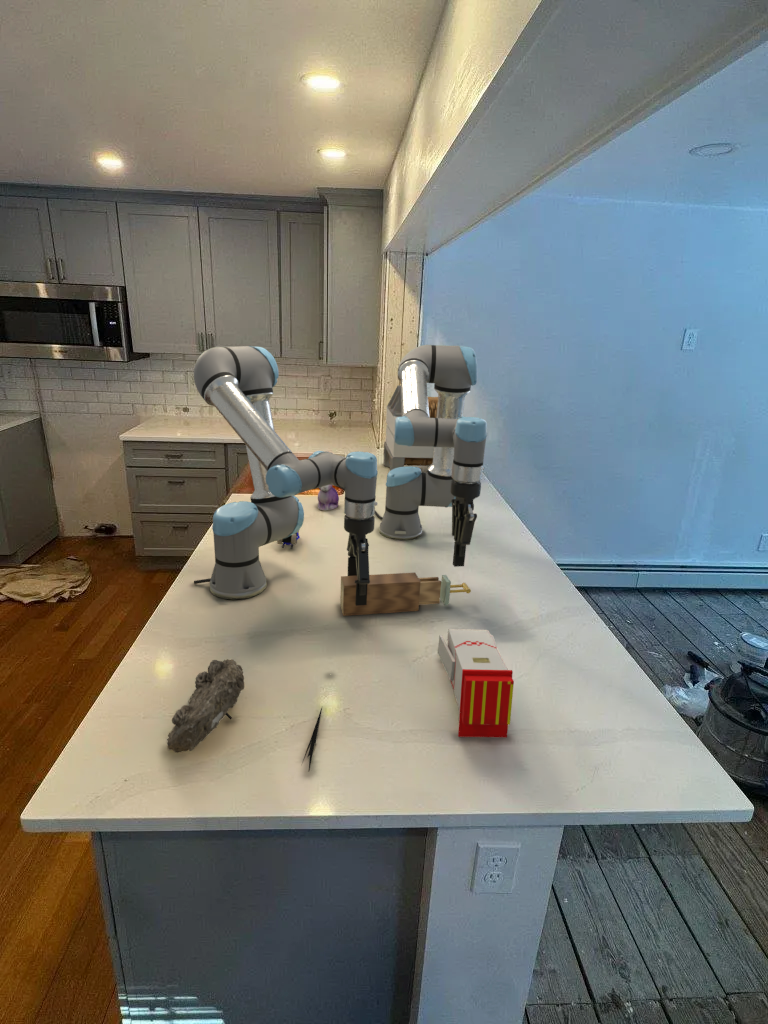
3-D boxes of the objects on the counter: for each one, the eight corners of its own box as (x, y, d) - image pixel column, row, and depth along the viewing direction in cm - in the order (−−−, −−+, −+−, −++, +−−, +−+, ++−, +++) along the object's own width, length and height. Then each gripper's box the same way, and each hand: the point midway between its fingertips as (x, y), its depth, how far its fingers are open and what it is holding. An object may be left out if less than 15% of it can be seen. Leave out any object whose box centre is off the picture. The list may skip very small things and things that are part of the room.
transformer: (382, 463, 289) (386, 382, 275) (445, 464, 293) (451, 384, 279) (390, 482, 257) (394, 392, 243) (460, 483, 261) (468, 394, 247)
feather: (331, 679, 122) (336, 673, 122) (307, 777, 96) (313, 769, 95) (324, 675, 122) (329, 669, 121) (298, 772, 95) (304, 764, 95)
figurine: (321, 512, 217) (321, 474, 212) (311, 504, 225) (311, 467, 220) (344, 509, 221) (344, 472, 216) (333, 501, 229) (334, 465, 224)
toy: (488, 613, 130) (523, 677, 101) (484, 667, 133) (517, 744, 104) (435, 612, 130) (455, 676, 101) (432, 666, 133) (451, 743, 103)
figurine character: (297, 555, 182) (302, 533, 196) (296, 534, 179) (302, 513, 192) (276, 554, 182) (283, 532, 195) (275, 534, 178) (282, 512, 192)
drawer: (464, 596, 157) (467, 573, 154) (469, 603, 153) (472, 580, 150) (375, 601, 151) (377, 578, 149) (379, 609, 148) (380, 585, 145)
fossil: (192, 660, 117) (244, 628, 112) (224, 691, 120) (276, 661, 115) (142, 746, 98) (202, 712, 93) (182, 779, 101) (242, 748, 96)
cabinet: (413, 600, 154) (415, 572, 152) (418, 611, 149) (420, 581, 147) (340, 605, 150) (340, 576, 147) (343, 616, 145) (343, 585, 142)
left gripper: (384, 534, 129) (380, 615, 136) (365, 498, 152) (362, 569, 159) (352, 535, 128) (349, 617, 135) (337, 498, 150) (336, 570, 158)
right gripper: (490, 487, 137) (480, 575, 145) (471, 472, 149) (463, 554, 157) (460, 488, 136) (452, 577, 144) (444, 473, 148) (437, 555, 156)
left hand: (356, 591), depth 147 cm, fingers open, 13 cm apart
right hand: (458, 565), depth 150 cm, fingers closed
